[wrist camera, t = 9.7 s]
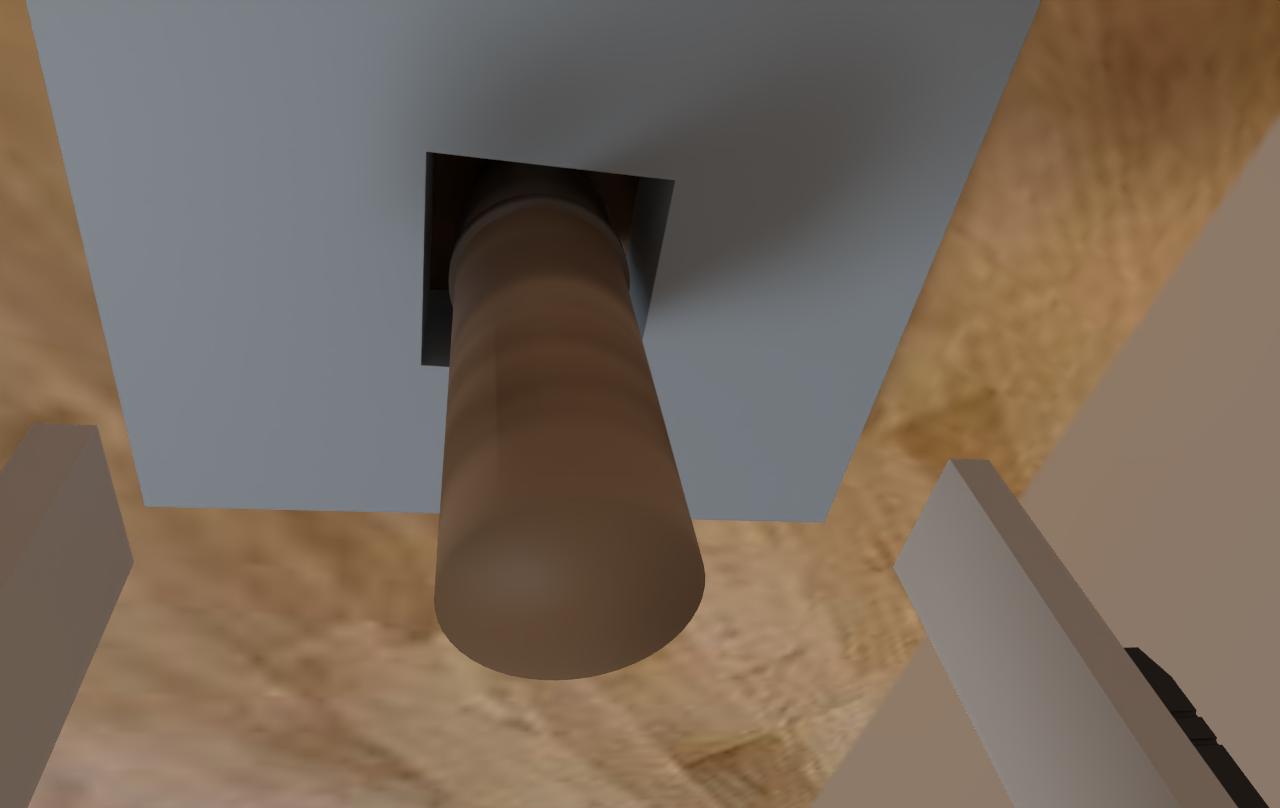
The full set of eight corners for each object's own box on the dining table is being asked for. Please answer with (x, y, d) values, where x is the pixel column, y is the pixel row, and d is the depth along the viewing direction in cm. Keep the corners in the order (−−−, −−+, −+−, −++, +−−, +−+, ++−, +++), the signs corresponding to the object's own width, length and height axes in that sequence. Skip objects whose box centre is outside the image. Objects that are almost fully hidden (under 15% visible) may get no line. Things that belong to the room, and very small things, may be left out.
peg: (458, 124, 22) (427, 485, 11) (619, 144, 23) (745, 495, 12) (451, 271, 24) (420, 689, 13) (597, 283, 25) (683, 682, 14)
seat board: (73, -216, 17) (-26, -215, 13) (963, -46, 21) (1047, -15, 18) (187, 417, 26) (144, 506, 23) (789, 444, 30) (824, 522, 27)
